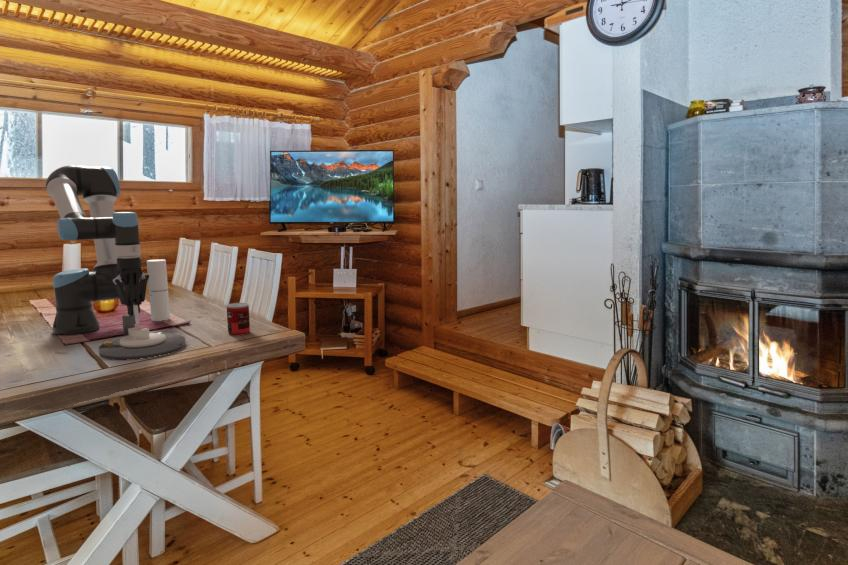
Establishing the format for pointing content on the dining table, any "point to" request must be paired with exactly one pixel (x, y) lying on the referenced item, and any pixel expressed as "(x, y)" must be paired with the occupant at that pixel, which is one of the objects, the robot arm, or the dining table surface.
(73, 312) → the robot arm
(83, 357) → the dining table surface
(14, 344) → the dining table surface
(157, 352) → the dial plate
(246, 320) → the canned food
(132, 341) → the dial
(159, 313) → the cylindrical container
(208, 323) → the dining table surface
